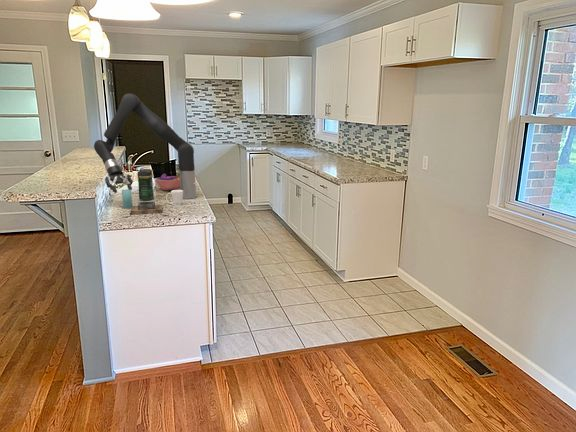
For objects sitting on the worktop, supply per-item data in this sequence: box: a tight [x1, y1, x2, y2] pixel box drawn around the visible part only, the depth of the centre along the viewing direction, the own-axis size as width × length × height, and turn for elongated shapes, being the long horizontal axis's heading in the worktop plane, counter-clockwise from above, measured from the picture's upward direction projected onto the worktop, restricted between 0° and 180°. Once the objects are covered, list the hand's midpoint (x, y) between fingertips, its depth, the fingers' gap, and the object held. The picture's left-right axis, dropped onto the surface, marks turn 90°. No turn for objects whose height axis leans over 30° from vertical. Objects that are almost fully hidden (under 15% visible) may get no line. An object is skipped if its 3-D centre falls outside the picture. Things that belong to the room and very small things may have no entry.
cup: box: [165, 189, 183, 206], centre depth 254 cm, size 7×10×8 cm
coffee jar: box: [137, 168, 155, 202], centre depth 266 cm, size 10×8×19 cm
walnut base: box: [130, 200, 163, 216], centre depth 239 cm, size 16×12×4 cm
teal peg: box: [121, 188, 133, 210], centre depth 246 cm, size 5×5×10 cm
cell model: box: [154, 173, 180, 192], centre depth 294 cm, size 17×20×11 cm
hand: (123, 191), depth 248 cm, fingers open, 8 cm apart
